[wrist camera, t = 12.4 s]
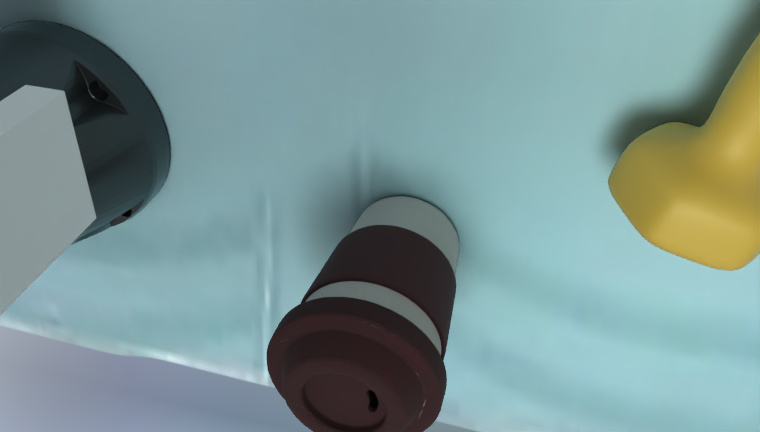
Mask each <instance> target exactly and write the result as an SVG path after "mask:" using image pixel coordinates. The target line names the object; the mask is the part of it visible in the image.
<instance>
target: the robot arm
mask: <svg viewBox="0 0 760 432" xmlns="http://www.w3.org/2000/svg"><path fill="white" fill-rule="evenodd" d="M169 164H170V146H169V140H168V135H167V131H166V127H165V124H164V121H163V119H162V116H161V114H160V112H159V110H158V107H157V105H156V104H155V102H154V100H153V98H152V97H151V95H150V93H149V92H148V90H147V89H146V88H145V86H144V85H143V83H142V82H141V81H140V80H139V78H138V77H137V76H136V75H135V74H134V72H133V71H132V70H131V69H130V68H129V67H128V66H127V65H126V64H125V63H124V62H123V61H122V60H121V59H120V58H119V57H117V56H116V55H115V54H114V53H113V52H111V51H110V50H109V49H107V48H106V47H105V46H103V45H102V44H100V43H99V42H97V41H96V40H94V39H92V38H90V37H89V36H87V35H85V34H83V33H81V32H79V31H76V30H74V29H72V28H69V27H66V26H63V25H59V24H56V23H51V22H44V21H25V22H19V23H15V24H12V25H9V26H7V27H5V28H3V29H1V30H0V315H1V314H2V313H3V312H4V311H5V310H6V309H7V308H8V307H9V306H10V305H11V304H12V303H13V302H14V301H15V300H16V299H17V298H18V297H19V296H20V295H21V294H22V293H23V292H24V291H25V290H26V289H27V288H28V287H29V286H30V285H31V284H32V283H33V282H34V281H35V280H36V279H37V278H38V277H39V276H40V275H41V274H42V273H43V272H44V271H45V270H46V269H47V268H48V267H49V266H50V265H51V264H52V263H53V262H54V261H55V260H56V258H57V257H58V256H59V255H60V254H61V253H62V252H63V251H64V250H65V249H66V248H67V247H69V246H70V245H72V244H74V243H77V242H79V241H81V240H83V239H86V238H88V237H90V236H92V235H95V234H97V233H99V232H102V231H104V230H105V229H107V228H109V227H111V226H115V225H117V224H120V223H122V222H124V221H126V220H128V219H130V218H132V217H133V216H135V215H136V214H137V213H138V212H140V211H141V210H142V209H143V208H144V207H145V206H146V205H147V204H148V203H149V202H150V200H151V199H152V198H153V197H154V196H155V195H156V194H157V193H158V192H159V190H160V189H161V187H162V186H163V184H164V182H165V180H166V177H167V174H168V170H169Z"/></svg>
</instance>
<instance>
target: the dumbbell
mask: <svg viewBox="0 0 760 432" xmlns="http://www.w3.org/2000/svg"><path fill="white" fill-rule="evenodd" d="M608 185H609V189H610V192H611V194H612V196H613V198H614V199H615V201H616V202H617V204H618V205H619V207H620V208H621V210H622V211H623V212H624V214H625V215H626V216H627V218H628V219H629V221H630V222H631V223H632V225H633V226H634V227H635V229H636V230H637V231H638V232H639V233H640V234H641V236H642V237H643V238H645V239H646V240H647V241H648V242H650V243H651V244H653V245H654V246H656V247H658V248H660V249H662V250H664V251H667V252H669V253H672V254H674V255H677V256H680V257H682V258H685V259H688V260H690V261H693V262H696V263H699V264H702V265H705V266H708V267H711V268H715V269H720V270H729V271H732V270H737V269H740V268H743V267H744V266H746V265H747V264H749V263H750V262H751V261H752V260H753V259H755V258H756V257H757V256H758V255H759V254H760V33H759V34H758V36H757V37H756V39H755V40H754V42H753V43H752V44H751V46H750V47H749V49H748V50H747V52H746V53H745V55H744V56H743V58H742V60H741V61H740V63H739V64H738V66H737V68H736V69H735V71H734V73H733V74H732V76H731V78H730V79H729V81H728V83H727V85H726V86H725V88H724V90H723V92H722V93H721V95H720V97H719V99H718V101H717V103H716V105H715V107H714V109H713V111H712V113H711V115H710V117H709V118H708V120H707V121H706V122H705V124H704V125H702V126H701V127H697V126H693V125H690V124H686V123H682V122H669V123H665V124H662V125H660V126H657V127H655V128H653V129H651V130H649V131H647V132H645V133H643V134H642V135H640V136H639V137H637V138H636V139H635V140H634V141H632V142H631V143H630V144H629V145H628V146H627V148H626V149H625V150H624V151H623V153H622V154H621V156H620V158H619V159H618V161H617V163H616V164H615V166H614V168H613V170H612V171H611V174H610V176H609V179H608Z"/></svg>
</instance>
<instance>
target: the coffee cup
mask: <svg viewBox="0 0 760 432" xmlns="http://www.w3.org/2000/svg"><path fill="white" fill-rule="evenodd" d="M458 255H459V240H458V237H457V233H456V231H455V229H454V227H453V225H452V223H451V222H450V221H449V219H448V218H447V217H446V216H445V215H444V214H443V213H442V212H441V211H440V210H438V209H437V208H436V207H434V206H433V205H431V204H429V203H427V202H424V201H422V200H419V199H416V198H412V197H405V196H397V197H389V198H384V199H381V200H379V201H377V202H375V203H373V204H372V205H370V206H369V207H368V208H367V209H365V210H364V212H363V213H362V214H361V216H360V217H359V219H358V220H357V222H356V223H355V225H354V227H353V228H352V230H351V231H350V233H349V234H348V235H347V236H346V237H344V238H343V239H342V241H341V242H340V243H339V244H338V245H337V247H336V248H335V250H334V251H333V253H332V254H331V256H330V258H329V259H328V261H327V262H326V264H325V265H324V267H323V268H322V270H321V271H320V273H319V274H318V276H317V278H316V279H315V281H314V282H313V284H312V285H311V287H310V288H309V290H308V291H307V293H306V295H305V296H304V298H303V300H302V302H301V304H300V305H298V306H296V307H295V308H293V309H292V310H291V311H289V312H288V313H287V314H286V315H285V316H284V318H283V319H282V320H281V322H280V323H279V325H278V327H277V329H276V330H275V332H274V334H273V336H272V338H271V340H270V342H269V345H268V349H267V366H268V371H269V374H270V377H271V379H272V382H273V384H274V385H275V387H276V389H277V390H278V392H279V393H280V394H281V396H282V397H283V398H284V399H285V400H286V403H287V405H288V406H289V408H290V409H291V411H292V412H293V414H294V415H295V416H296V417H297V418H298V419H299V420H300V421H301V422H302V423H303V424H304V425H305V426H306V427H308V428H309V429H311V430H312V431H313V432H423V431H424V430H426V429H427V428H428V427H430V426H431V425H432V423H433V422H434V421H435V420H436V418H437V417H438V415H439V412H440V410H441V406H442V402H443V398H444V395H445V390H446V382H447V378H446V370H445V365H444V362H443V360H444V356H445V352H446V346H447V340H448V334H449V328H450V322H451V316H452V310H453V304H454V298H455V292H456V280H455V272H456V267H457V261H458Z"/></svg>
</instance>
